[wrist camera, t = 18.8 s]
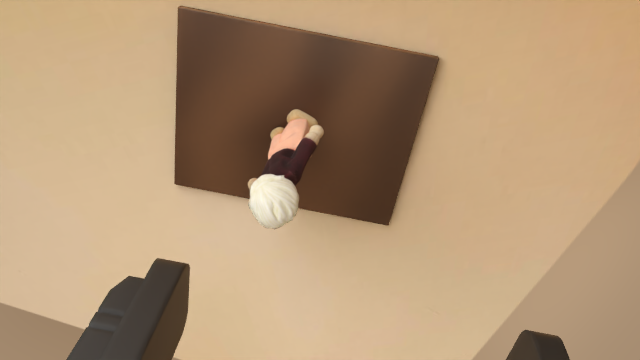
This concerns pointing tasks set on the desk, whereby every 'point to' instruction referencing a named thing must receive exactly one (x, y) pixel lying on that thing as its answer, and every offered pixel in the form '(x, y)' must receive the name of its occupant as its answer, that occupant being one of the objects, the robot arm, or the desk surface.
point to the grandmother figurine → (284, 170)
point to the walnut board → (296, 93)
